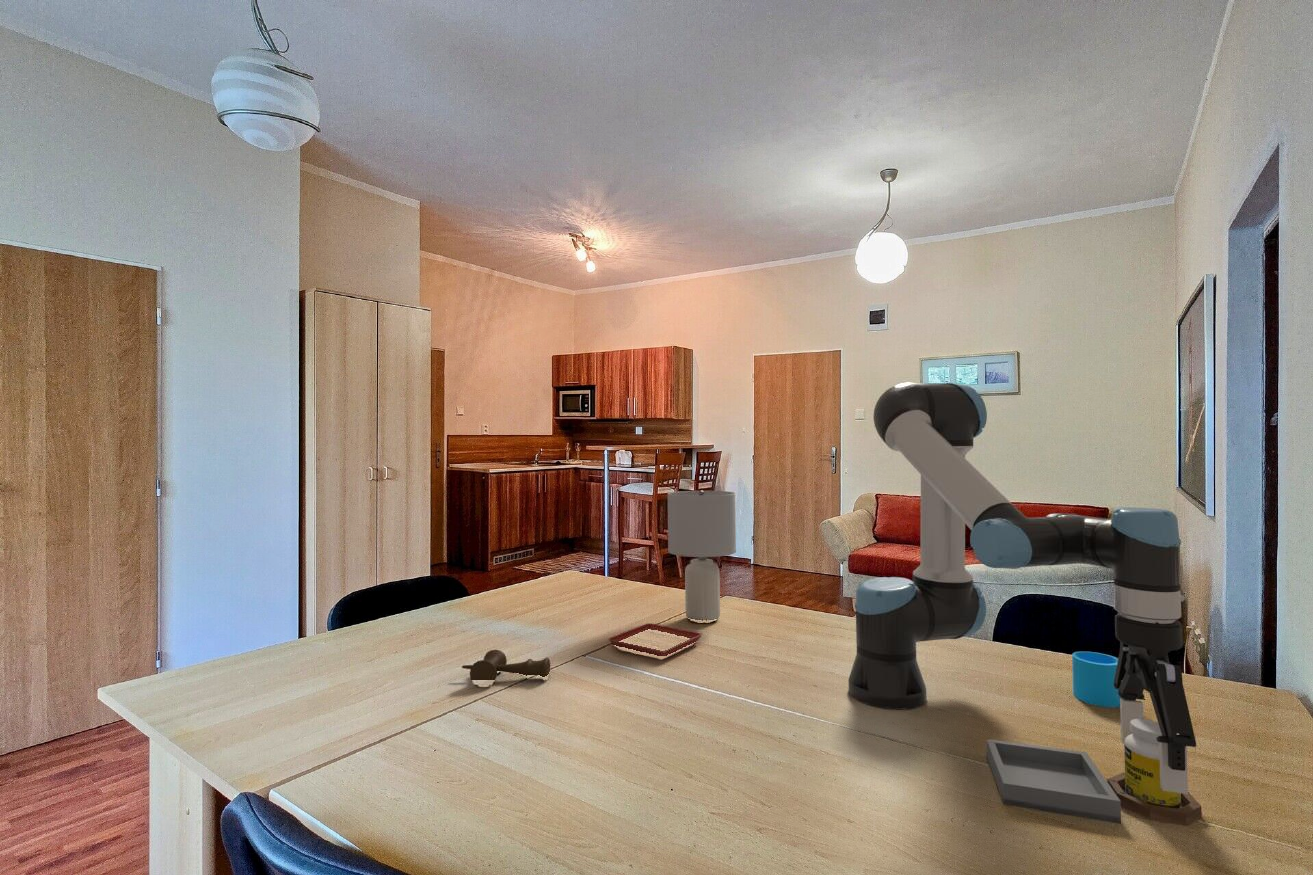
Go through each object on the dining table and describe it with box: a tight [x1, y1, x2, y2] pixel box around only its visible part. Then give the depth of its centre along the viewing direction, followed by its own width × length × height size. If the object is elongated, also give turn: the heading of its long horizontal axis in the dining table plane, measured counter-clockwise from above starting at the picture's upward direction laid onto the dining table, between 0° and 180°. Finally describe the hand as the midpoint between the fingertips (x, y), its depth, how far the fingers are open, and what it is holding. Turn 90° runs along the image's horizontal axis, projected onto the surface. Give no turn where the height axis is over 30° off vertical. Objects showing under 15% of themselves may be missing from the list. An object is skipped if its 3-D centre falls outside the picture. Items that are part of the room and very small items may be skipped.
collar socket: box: [1106, 772, 1203, 827], centre depth 87 cm, size 10×10×2 cm
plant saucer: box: [607, 623, 703, 656], centre depth 158 cm, size 18×18×3 cm
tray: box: [985, 738, 1122, 825], centre depth 91 cm, size 14×14×3 cm
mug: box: [1071, 651, 1122, 708], centre depth 124 cm, size 12×8×8 cm
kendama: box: [461, 649, 551, 681], centre depth 137 cm, size 6×10×20 cm
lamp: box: [667, 489, 737, 621], centre depth 183 cm, size 20×20×39 cm
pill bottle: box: [1123, 718, 1182, 809], centre depth 87 cm, size 6×6×11 cm
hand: (1151, 765), depth 87 cm, fingers open, 13 cm apart
